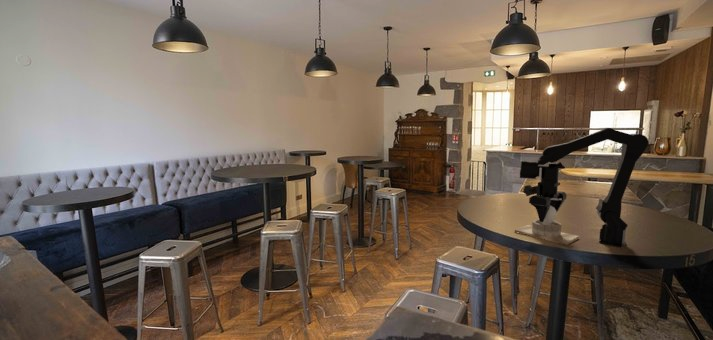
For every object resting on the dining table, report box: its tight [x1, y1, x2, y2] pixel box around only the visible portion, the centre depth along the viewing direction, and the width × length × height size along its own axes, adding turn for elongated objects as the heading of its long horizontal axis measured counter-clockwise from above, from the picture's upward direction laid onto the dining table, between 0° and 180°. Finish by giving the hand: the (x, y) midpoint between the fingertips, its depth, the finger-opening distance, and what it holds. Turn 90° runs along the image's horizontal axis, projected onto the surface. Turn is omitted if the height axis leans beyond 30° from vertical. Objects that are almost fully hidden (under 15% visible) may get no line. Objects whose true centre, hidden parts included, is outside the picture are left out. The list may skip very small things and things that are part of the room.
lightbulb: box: [542, 205, 558, 226], centre depth 131 cm, size 6×6×11 cm
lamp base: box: [514, 219, 580, 246], centre depth 131 cm, size 19×11×5 cm, turn 38°
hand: (546, 219), depth 131 cm, fingers open, 9 cm apart
